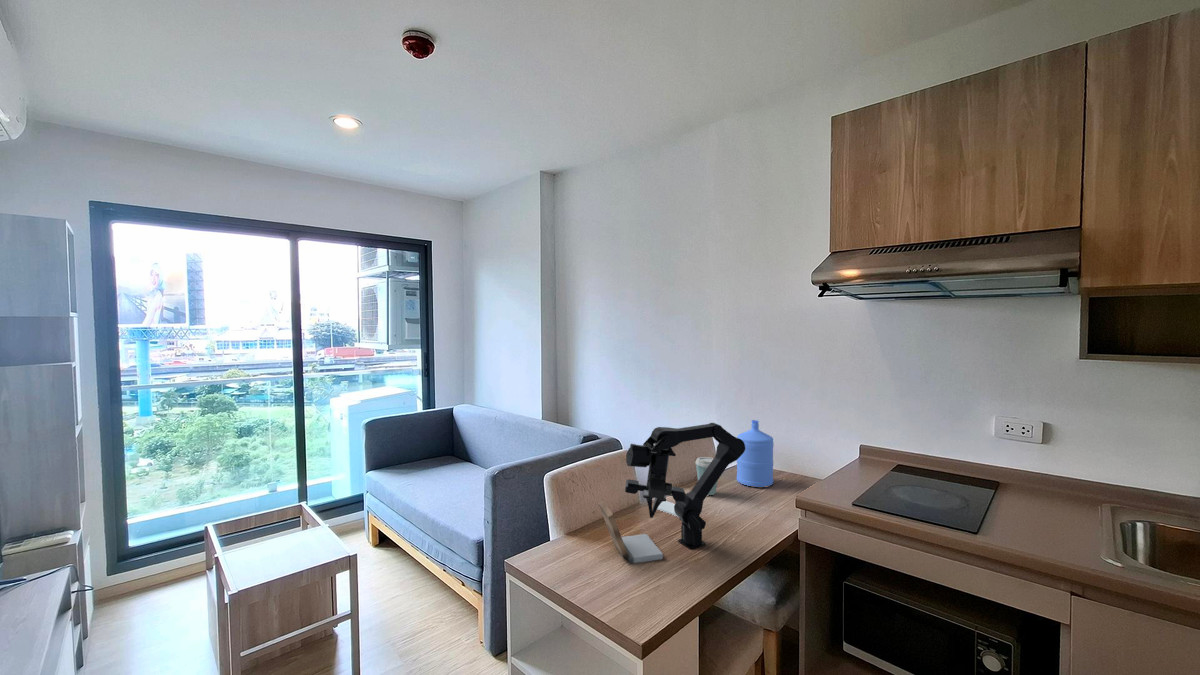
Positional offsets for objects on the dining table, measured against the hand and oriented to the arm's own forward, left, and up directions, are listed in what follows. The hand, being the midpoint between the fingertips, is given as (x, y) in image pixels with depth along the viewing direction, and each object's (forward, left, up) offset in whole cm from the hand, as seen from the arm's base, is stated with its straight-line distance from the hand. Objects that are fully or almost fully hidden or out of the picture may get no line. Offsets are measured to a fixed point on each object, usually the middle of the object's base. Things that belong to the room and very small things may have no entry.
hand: (651, 517), depth 146 cm
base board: (+1, +4, -10) cm, 11 cm away
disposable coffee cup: (+27, -49, -10) cm, 57 cm away
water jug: (+27, -77, -10) cm, 83 cm away
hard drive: (+21, -26, -11) cm, 35 cm away
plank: (+3, +13, -2) cm, 14 cm away
